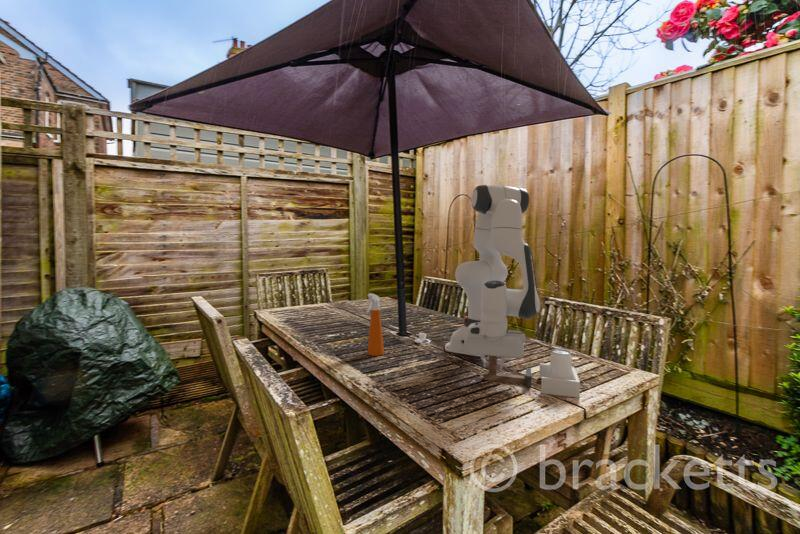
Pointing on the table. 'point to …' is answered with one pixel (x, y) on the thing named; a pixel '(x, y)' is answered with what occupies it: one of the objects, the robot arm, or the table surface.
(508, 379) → the brown l-shaped rod
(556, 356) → the can
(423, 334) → the teacup and saucer
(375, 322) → the spray bottle
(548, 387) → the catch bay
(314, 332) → the table surface
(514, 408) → the table surface
